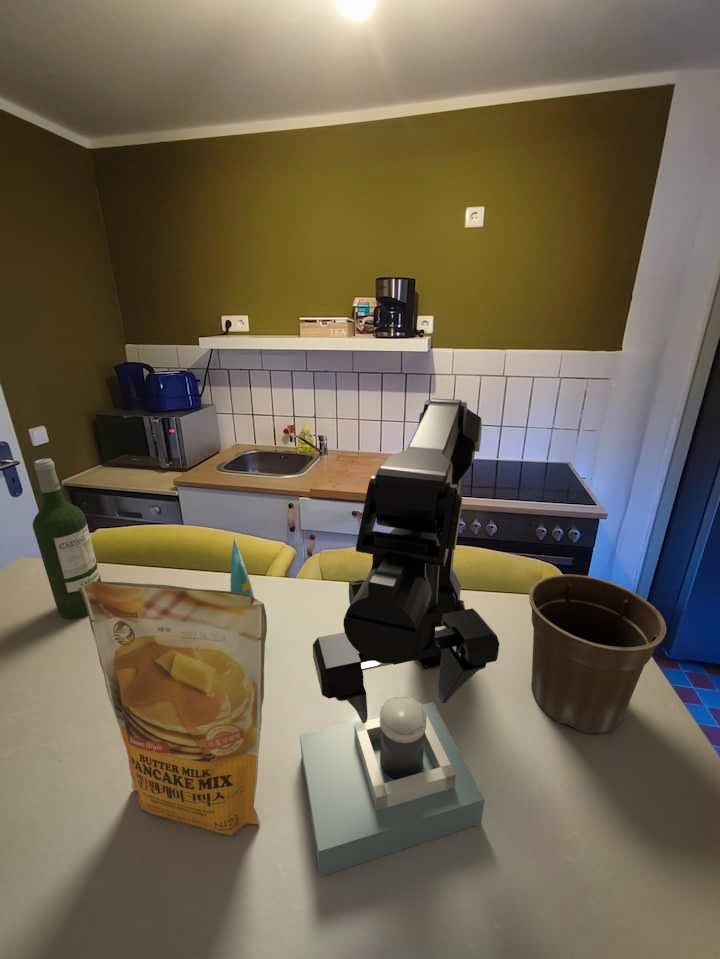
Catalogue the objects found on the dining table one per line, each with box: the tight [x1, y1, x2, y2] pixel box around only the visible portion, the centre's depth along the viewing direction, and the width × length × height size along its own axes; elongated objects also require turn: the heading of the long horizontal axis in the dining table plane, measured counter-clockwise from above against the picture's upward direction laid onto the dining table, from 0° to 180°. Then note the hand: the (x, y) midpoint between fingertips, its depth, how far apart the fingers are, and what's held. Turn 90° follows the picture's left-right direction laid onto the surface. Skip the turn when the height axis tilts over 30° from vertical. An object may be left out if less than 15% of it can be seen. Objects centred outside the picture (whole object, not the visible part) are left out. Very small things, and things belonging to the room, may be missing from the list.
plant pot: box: [528, 573, 667, 735], centre depth 60 cm, size 16×16×16 cm
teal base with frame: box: [299, 701, 485, 878], centre depth 50 cm, size 18×13×6 cm
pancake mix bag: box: [78, 581, 268, 837], centre depth 45 cm, size 7×19×28 cm, turn 76°
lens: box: [379, 695, 427, 780], centre depth 49 cm, size 5×5×7 cm
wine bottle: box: [32, 458, 102, 620], centre depth 79 cm, size 8×8×30 cm
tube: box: [230, 536, 255, 598], centre depth 70 cm, size 7×5×19 cm, turn 27°
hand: (403, 709), depth 47 cm, fingers open, 9 cm apart
